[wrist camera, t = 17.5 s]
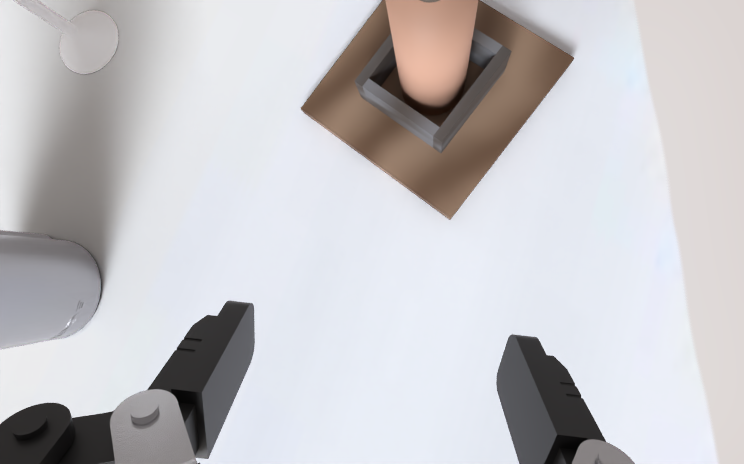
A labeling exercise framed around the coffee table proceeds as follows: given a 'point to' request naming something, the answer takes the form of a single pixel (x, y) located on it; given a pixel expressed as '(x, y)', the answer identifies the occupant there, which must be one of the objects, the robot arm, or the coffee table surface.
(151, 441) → the robot arm
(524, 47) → the holder
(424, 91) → the roll
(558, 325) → the coffee table surface
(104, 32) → the champagne flute
